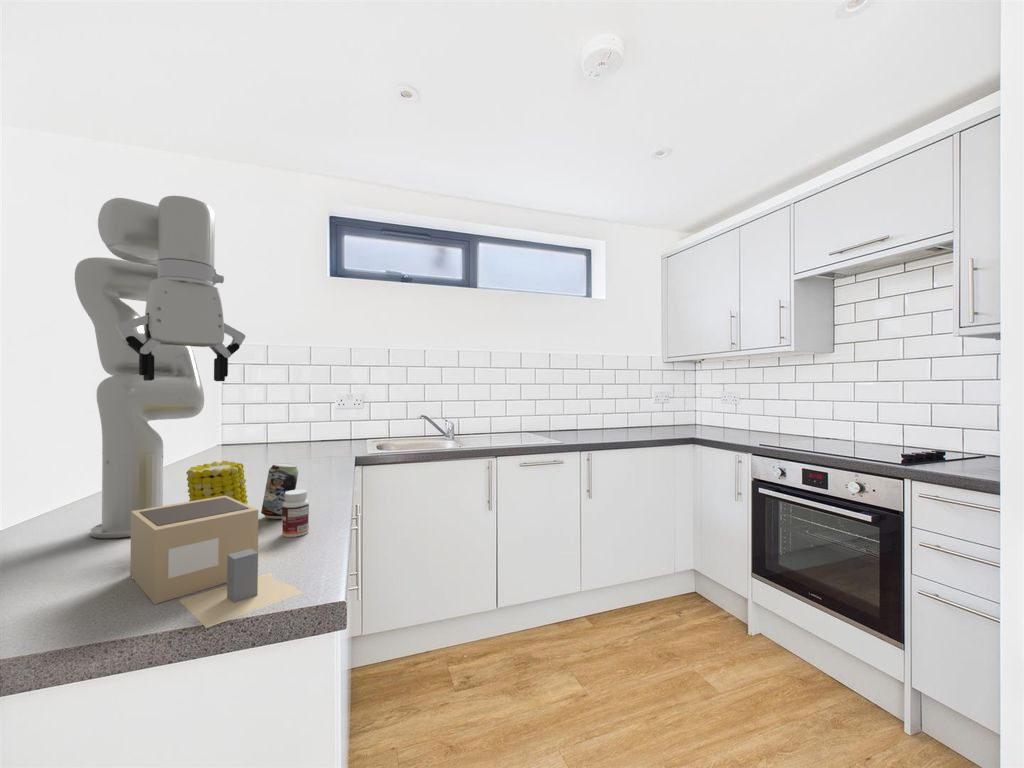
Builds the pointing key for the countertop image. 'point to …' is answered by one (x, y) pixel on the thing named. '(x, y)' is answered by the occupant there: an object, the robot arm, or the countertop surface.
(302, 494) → the pill bottle
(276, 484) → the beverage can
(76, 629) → the countertop surface
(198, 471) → the food
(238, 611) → the flap
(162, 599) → the carton
